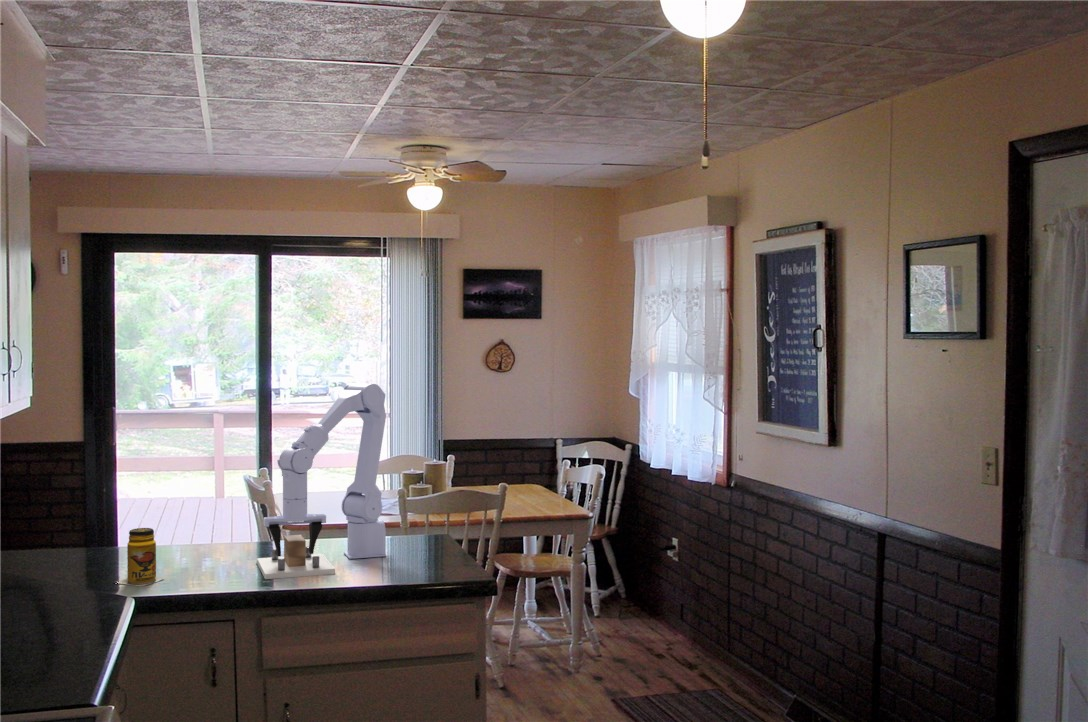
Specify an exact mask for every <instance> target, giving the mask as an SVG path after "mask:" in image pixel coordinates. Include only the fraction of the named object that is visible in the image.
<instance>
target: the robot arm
mask: <svg viewBox="0 0 1088 722" xmlns="http://www.w3.org/2000/svg"><path fill="white" fill-rule="evenodd" d="M385 400H386V393H385V392H384V390H383V389H382V388H381V387H380V385H379V384H377V383H357V382H349V383H347V384H346V385H345V386H344V387H343V389H341V390H339V392H338V396H337V399H336V400H335V402H334V403H333V404H332V405H331V407H330V408H329V409H328V410H327V412H326V413H325V414H324V415H323V417H322V418H321V419H320V421H319V422H318V423H317V424H311V425H309V426H306V427H305V428H304V429H303V431H304V432H302V435H300V437H298V438H297V439H296V441H294V442H293V443H292V444H291V447H288V448H286V449H284V450H283V451H282V452H281V453H280V456H279V458H278V459H277V466H278V468H279V469H280V471H281V477H282V515H277V516H267V517H266V516H265V517H263V526H264V527H267V528H268V530H269V531H270V534H271V537H272V539H273V540H272V541H273V543H274V545H275V549H276V551H277V556H278V557H282V549H281V548H282V547H281V537H282V536H281V535H282V533H281V532H282V530H281V526H289V525H290V526H291V525H305V524H307V525H308V529H309V533H308V534H309V540H308V541H309V542H308V543H309V545H308V547H309V553H310V554H314V552H315V547H316V542H317V540H318V538H319V535H320V533H321V531H322V528H323V524H326V523H327V515H326V514H325V513H311V514H310V513H308V471H309V470H310V469H312V466H313V463H314V461H313V460H314V458H315V456H316V455H317V454H318V453H319V452H320V450H321V449H322V448H323V447H324V446H325V445H326V444H327V443H328V441H329V438H330V437H329V433H331V431H332V430H333V429H334V428H335V427H336V426H337V425H338V424H339V423H340V422H341V421H342V420H343V419H344V418H345V417H346V416H347V415H348V414H349V413H353V412H356V414H357V415H358V416H359V417H360V418H361V420H362V421H363V422H362V424H363V425H362V427H361V428H362V429H361V434H360V435H361V436H360V440H359V448H358V455H357V460H356V468H355V474H354V480H353V482H352V483H350V484H349V486H348V487H347V488H346V493H345V496H344V497H343V499H342V501H341V511H342V514H343V515H344V516H345V519H346V521H347V550H345V551H343V554H344V555H345V556H346V557H347V558H348V559H349V560H351V559H352V560H353V559H355V560H356V559H364V558H365V559H366V558H380V557H387V552H386V550H387V548H386V547H387V546H386V545H387V544H386V542H387V541H386V540H387V539H386V537H387V535H386V524H385V520H384V519H379V517H380V516H381V514H382V512H383V504H382V491H381V490H380V489H379V487H378V486H377V477H378V472H379V465H380V458H381V451H382V447H383V446H382V444H383V440H384V439H383V438H384V432H385V425H386V417H387V413H386V409H385Z"/></svg>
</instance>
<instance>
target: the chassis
mask: <svg viewBox="0 0 1088 722" xmlns="http://www.w3.org/2000/svg"><path fill="white" fill-rule="evenodd" d="M256 564H257V567H258V568H259V570H260V572H261V574H262V576H263V578H264V579H265V580H274V579H276V580H277V579H285V578H298V577H301V578H302V577H310V576H311V577H313V576H323V575H335V574H336V568H335V566H333V564H332V563H331V562H330V561H329V560H328V559H327V557H326V556H325V555H324V554H323V553H313V554H310V553H309V546H306V566H295V567H288V565H287V564H286V562H285V559H284V555H283V556H277V551H276V548H271V557H258V558H256Z"/></svg>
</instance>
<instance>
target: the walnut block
mask: <svg viewBox="0 0 1088 722" xmlns="http://www.w3.org/2000/svg"><path fill="white" fill-rule="evenodd" d="M306 542H307V541H306V539H305V538H304V537H303V535H302V534H295V535H294V534H293V535H291V534H290V535H289V534H288V535H283V546H284V548H283V556H284V559H285V562H286V564H287V565H288V567H295V566H306V547H307V544H306Z"/></svg>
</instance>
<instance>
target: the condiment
mask: <svg viewBox="0 0 1088 722" xmlns="http://www.w3.org/2000/svg"><path fill="white" fill-rule="evenodd" d="M154 533H155V530H154V529H153V528H151V527H138V528H133V529H131V530H129V531H128V535H129V537H128V539H129V540H128V542H127V543H126V544H127V551H126V552H127V556H126V557H127V558H126V559H127V562H126V563H127V567H126V568H127V571H126V572H127V578H125V579H122V580H118V581H119V582H118V581H116V582H117V583H118V584H117V583H116V584H117V585H119V584H121V585H128V586H135V587H145V586H149V585H152V584H155V583H157V582H160V581H163V580H165V578H162V577H157V544H156V543H157V542H156V540H155V534H154Z"/></svg>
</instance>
